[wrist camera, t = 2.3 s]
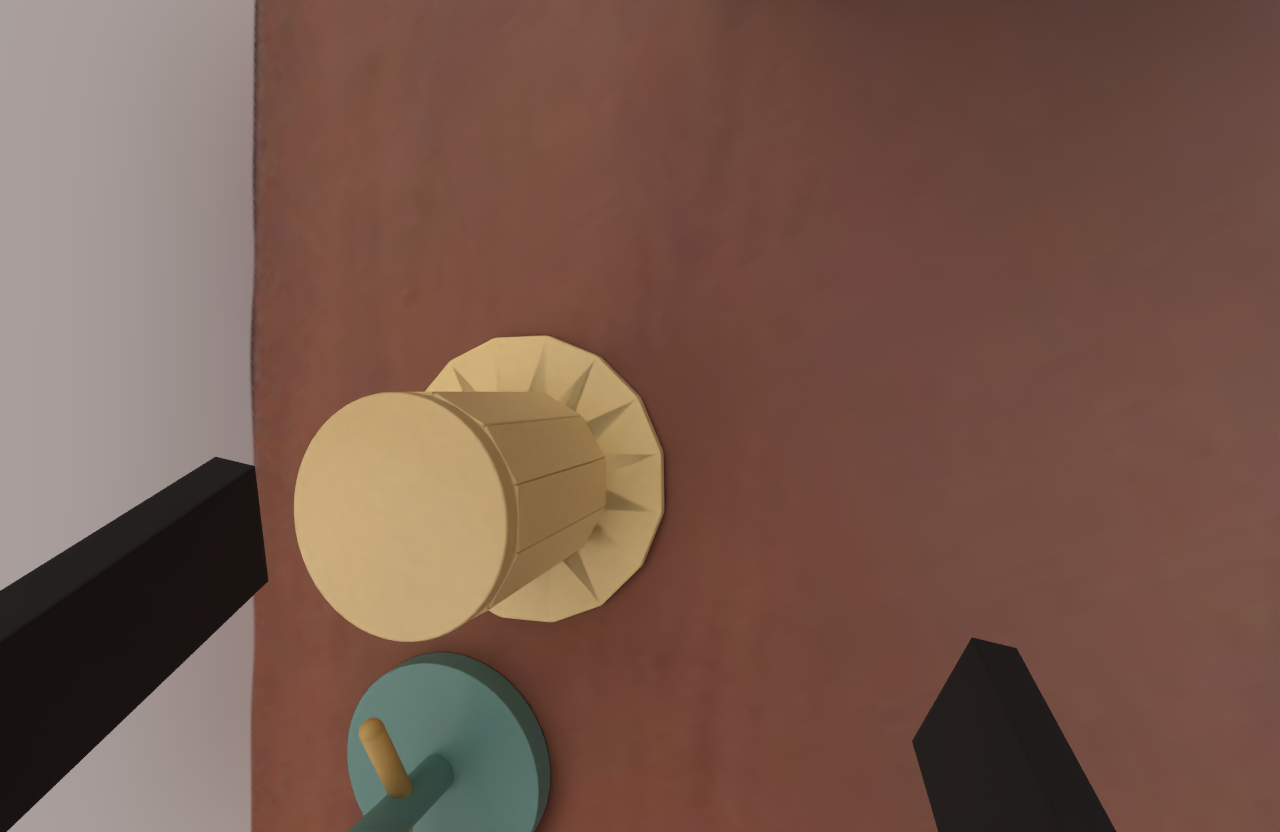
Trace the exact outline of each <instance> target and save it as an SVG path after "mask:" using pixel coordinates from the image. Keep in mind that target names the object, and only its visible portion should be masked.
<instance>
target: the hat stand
mask: <svg viewBox="0 0 1280 832" xmlns="http://www.w3.org/2000/svg"><path fill="white" fill-rule="evenodd" d="M347 760H348V770H349V775H350V781H351V785H352V788H353V791H354V795H355V797H356V800H357V802H358V805H359V807H360V809H361V811H362V813H363V815H364V817H363V818H361V819H360V820H359V821H358V822H357V823H356V824H355V825H354V826H353V827H352V828H351V829H350V830H349V831H348V832H534V831H535V830H536V828H537V826H538V825H539V823H540V820H541V818H542V816H543V814H544V811H545V808H546V805H547V802H548V796H549V790H550V762H549V756H548V751H547V746H546V742H545V739H544V736H543V733H542V730H541V728H540V726H539V723H538V721H537V719H536V717H535V715H534V713H533V712H532V710H531V708H530V707H529V705H528V704H527V702H526V701H525V700H524V698H523V697H522V695H521V694H520V693H519V692H518V691H517V690H516V689H515V687H514V686H513V685H512V684H511V683H510V682H509V681H508V680H506V679H505V678H504V677H503V676H502V675H501V674H499V673H498V672H496V671H495V670H493V669H492V668H490V667H489V666H487V665H485V664H483V663H481V662H479V661H477V660H475V659H473V658H470V657H467V656H464V655H459V654H454V653H442V652H437V653H427V654H423V655H419V656H416V657H413V658H411V659H409V660H407V661H405V662H403V663H402V664H400V665H399V666H397V667H396V668H394V669H393V670H391V671H389V672H388V673H386V674H385V675H383V676H382V677H380V678H379V679H378V680H377V681H376V682H375V683H374V684H372V685H371V687H370V688H369V689H368V690H367V691H366V693H365V694H364V695H363V697H362V699H361V700H360V702H359V704H358V706H357V708H356V710H355V713H354V715H353V718H352V721H351V725H350V729H349V735H348V742H347Z"/></svg>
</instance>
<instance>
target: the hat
mask: <svg viewBox="0 0 1280 832" xmlns="http://www.w3.org/2000/svg"><path fill="white" fill-rule="evenodd" d="M663 514H664V453H663V449H662V447H661V445H660V442H659V440H658V437H657V435H656V432H655V430H654V428H653V425H652V423H651V420H650V418H649V415H648V413H647V411H646V408H645V406H644V403H643V401H642V399H641V397H640V396H639V395H638V394H637V393H636V392H635V391H634V390H633V389H632V388H631V387H630V386H629V385H628V384H627V383H626V382H625V380H624V379H623V378H622V377H621V376H620V375H619V374H618V373H617V372H616V371H615V370H614V369H613V368H612V367H611V366H610V365H609V364H608V363H607V362H606V361H605V360H604V359H603V358H602V357H600V356H598V355H596V354H593V353H591V352H589V351H586V350H584V349H581V348H579V347H576V346H574V345H571V344H569V343H566V342H564V341H561V340H559V339H557V338H554V337H551V336H546V335H545V336H522V337H499V338H493V339H492V340H490V341H488V342H486V343H484V344H482V345H480V346H478V347H476V348H474V349H472V350H470V351H468V352H466V353H464V354H462V355H460V356H458V357H456V358H455V359H453V360H451V361H450V362H449V363H448V364H447V365H446V367H445V368H444V369H443V370H442V371H441V373H440V374H439V375H438V376H437V377H436V379H435V380H434V381H433V382H432V384H431V385H430V386H429V387H428V388H427V390H426V391H425V392H381V393H377V394H373V395H369V396H365V397H363V398H361V399H358V400H356V401H354V402H352V403H350V404H348V405H347V406H345V407H343V408H342V409H340V410H339V411H338V412H337V413H335V414H334V415H333V416H332V417H331V418H329V419H328V420H327V422H326V423H325V424H324V425H323V426H322V427H321V428H320V429H319V431H318V432H317V434H316V435H315V437H314V438H313V440H312V441H311V443H310V445H309V447H308V449H307V451H306V453H305V455H304V458H303V460H302V463H301V466H300V469H299V473H298V477H297V481H296V488H295V496H294V519H295V529H296V534H297V539H298V544H299V548H300V551H301V554H302V557H303V560H304V562H305V565H306V567H307V570H308V572H309V574H310V576H311V577H312V579H313V581H314V583H315V585H316V586H317V588H318V589H319V591H320V592H321V593H322V595H323V596H324V598H325V599H326V600H327V601H328V602H329V603H330V605H331V606H332V607H333V608H334V609H335V610H336V611H337V612H338V613H339V614H341V615H342V616H343V617H344V618H345V619H346V620H348V621H349V622H351V623H352V624H354V625H355V626H356V627H358V628H360V629H362V630H364V631H366V632H368V633H370V634H372V635H375V636H378V637H381V638H384V639H388V640H393V641H402V642H417V641H426V640H430V639H434V638H437V637H441V636H443V635H445V634H447V633H449V632H452V631H454V630H455V629H457V628H458V627H460V626H461V625H463V624H464V623H466V622H468V621H470V620H471V619H473V618H475V617H477V616H479V615H480V614H482V613H484V612H486V611H490V612H492V613H494V614H496V615H497V616H499V617H502V618H512V619H522V620H532V621H542V622H556V621H559V620H561V619H564V618H567V617H570V616H573V615H576V614H579V613H582V612H584V611H587V610H590V609H593V608H596V607H599V606H601V605H603V604H604V603H605V602H606V601H607V600H608V599H609V598H610V597H611V596H612V595H613V594H614V593H615V592H616V591H617V590H618V589H619V588H620V587H621V586H622V585H623V584H624V583H625V582H626V581H627V580H628V579H629V578H630V577H631V576H632V575H633V574H634V573H635V572H636V571H637V570H638V569H640V568H641V567H642V565H643V564H644V562H645V559H646V557H647V554H648V552H649V549H650V547H651V544H652V542H653V539H654V537H655V534H656V532H657V529H658V527H659V524H660V522H661V519H662V517H663Z"/></svg>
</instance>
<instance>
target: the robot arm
mask: <svg viewBox="0 0 1280 832" xmlns="http://www.w3.org/2000/svg"><path fill="white" fill-rule="evenodd" d="M267 582H268V574H267V566H266V557H265V549H264V540H263V532H262V523H261V515H260V507H259V498H258V490H257V481H256V473H255V466H252V465H248V464H243V463H239V462H235V461H231V460H227V459H222V458H218V457H215V458H213V459H211V460H210V461H208V462H206V463H205V464H203V465H202V466H200V467H199V468H197V469H195V470H194V471H192V472H190V473H189V474H187V475H186V476H184V477H182V478H181V479H179V480H177V481H176V482H174V483H173V484H171V485H169V486H168V487H166V488H165V489H163V490H161V491H160V492H158V493H157V494H155V495H153V496H152V497H151V498H149V499H147V500H145V501H144V502H143V503H141V504H139V505H137V506H136V507H134V508H133V509H131V510H129V511H128V512H126V513H125V514H123V515H121V516H120V517H118V518H117V519H115V520H114V521H112V522H110V523H109V524H107V525H106V526H104V527H102V528H100V529H99V530H97V531H96V532H94V533H92V534H91V535H89V536H88V537H86V538H84V539H83V540H81V541H80V542H78V543H76V544H75V545H73V546H72V547H70V548H68V549H67V550H65V551H64V552H62V553H60V554H59V555H57V556H55V557H54V558H52V559H51V560H49V561H47V562H46V563H44V564H43V565H41V566H39V567H38V568H36V569H35V570H33V571H31V572H30V573H28V574H27V575H25V576H23V577H22V578H20V579H19V580H17V581H15V582H14V583H12V584H11V585H9V586H7V587H6V588H4V589H3V590H1V591H0V832H7V831H8V830H9V829H10V828H11V827H12V826H13V825H14V824H15V823H16V822H17V821H18V820H19V819H20V818H21V817H22V816H23V815H24V814H25V813H27V812H28V811H29V810H30V809H31V808H32V807H33V806H34V805H35V804H36V803H37V802H38V801H39V800H40V799H41V798H42V797H43V796H44V795H45V794H46V793H47V792H49V790H51V789H52V788H53V787H54V786H55V785H56V784H57V783H58V782H59V781H60V780H61V779H62V778H63V777H64V776H65V775H66V774H67V773H68V772H69V771H70V770H71V769H72V768H74V767H75V766H76V765H77V764H78V763H79V762H80V761H81V760H82V759H83V758H84V757H85V756H86V755H87V754H88V753H89V752H90V751H91V750H92V749H93V748H94V747H95V746H96V745H97V744H99V743H100V742H101V741H102V740H103V739H104V738H105V737H106V736H107V735H108V734H109V733H110V732H111V731H112V730H113V729H114V728H115V727H116V726H117V725H118V724H119V723H120V722H122V720H123V719H125V718H126V717H127V716H128V715H129V714H130V713H131V712H132V711H133V710H134V709H135V708H136V707H137V706H138V705H139V704H140V703H141V702H142V701H143V700H144V699H146V698H147V697H148V696H149V695H150V694H151V693H152V692H153V691H154V690H155V689H156V688H157V687H158V686H159V685H160V684H161V683H162V682H163V681H164V680H165V679H166V678H167V677H169V676H170V675H171V674H172V673H173V672H174V671H175V670H176V669H177V668H178V667H179V666H180V665H181V664H182V663H183V662H184V661H185V660H186V659H187V658H188V657H189V656H190V655H191V654H193V653H194V652H195V650H197V649H198V648H199V647H200V646H201V645H202V644H203V643H204V642H205V641H206V640H207V639H208V638H209V637H210V636H211V635H212V634H213V633H214V632H215V631H216V630H218V629H219V627H221V626H222V625H223V624H224V623H225V622H226V621H227V620H228V619H229V618H230V617H231V616H232V615H233V614H234V613H235V612H236V611H237V610H238V609H239V608H241V607H242V606H243V605H244V604H245V603H246V602H247V601H248V600H249V599H250V598H251V597H252V596H253V595H254V594H255V593H256V592H257V591H258V590H259V589H260V588H261V587H262V586H263V585H265V584H266V583H267ZM912 742H913V746H914V749H915V753H916V756H917V759H918V763H919V766H920V770H921V773H922V777H923V780H924V784H925V787H926V791H927V794H928V797H929V801H930V804H931V808H932V811H933V815H934V818H935V822H936V825H937V829H938V832H1116V830H1115V829H1114V827H1113V825H1112V823H1111V821H1110V819H1109V818H1108V816H1107V814H1106V812H1105V810H1104V808H1103V806H1102V805H1101V803H1100V801H1099V799H1098V797H1097V795H1096V794H1095V792H1094V790H1093V788H1092V786H1091V784H1090V783H1089V781H1088V779H1087V777H1086V775H1085V773H1084V772H1083V770H1082V768H1081V766H1080V764H1079V762H1078V760H1077V759H1076V757H1075V755H1074V753H1073V751H1072V749H1071V748H1070V746H1069V744H1068V742H1067V740H1066V738H1065V737H1064V735H1063V733H1062V731H1061V729H1060V727H1059V726H1058V724H1057V722H1056V720H1055V718H1054V716H1053V714H1052V713H1051V711H1050V709H1049V707H1048V705H1047V703H1046V702H1045V700H1044V698H1043V696H1042V694H1041V692H1040V691H1039V689H1038V687H1037V685H1036V683H1035V681H1034V680H1033V678H1032V676H1031V674H1030V672H1029V670H1028V668H1027V667H1026V665H1025V663H1024V661H1023V659H1022V657H1021V656H1020V654H1019V652H1018V650H1017V648H1013V647H1009V646H1005V645H1001V644H997V643H992V642H988V641H984V640H980V639H976V638H971V640H970V642H969V643H968V645H967V647H966V649H965V650H964V652H963V654H962V656H961V657H960V659H959V661H958V662H957V664H956V666H955V668H954V669H953V671H952V673H951V675H950V676H949V678H948V680H947V682H946V683H945V685H944V687H943V689H942V690H941V692H940V694H939V695H938V697H937V699H936V701H935V702H934V704H933V706H932V708H931V709H930V711H929V713H928V715H927V716H926V718H925V720H924V722H923V723H922V725H921V727H920V728H919V730H918V732H917V734H916V735H915V737H914V739H913V741H912Z"/></svg>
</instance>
